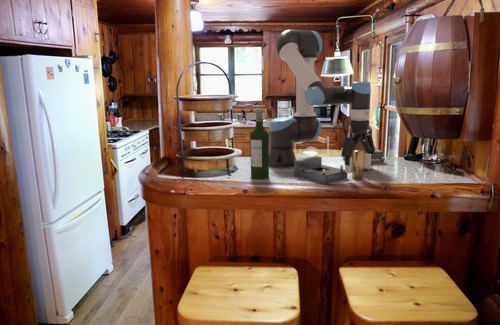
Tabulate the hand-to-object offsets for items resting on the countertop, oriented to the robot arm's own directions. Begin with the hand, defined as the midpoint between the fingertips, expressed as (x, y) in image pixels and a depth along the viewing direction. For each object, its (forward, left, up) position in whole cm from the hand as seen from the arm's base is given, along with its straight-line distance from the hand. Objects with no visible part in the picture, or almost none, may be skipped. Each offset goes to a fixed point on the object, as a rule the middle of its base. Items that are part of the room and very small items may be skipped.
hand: (357, 170), depth 168 cm
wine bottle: (-29, -30, -4) cm, 42 cm away
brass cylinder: (0, 0, -3) cm, 3 cm away
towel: (-22, +32, -4) cm, 39 cm away
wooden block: (-12, +16, -4) cm, 20 cm away
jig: (-12, -10, -3) cm, 16 cm away
